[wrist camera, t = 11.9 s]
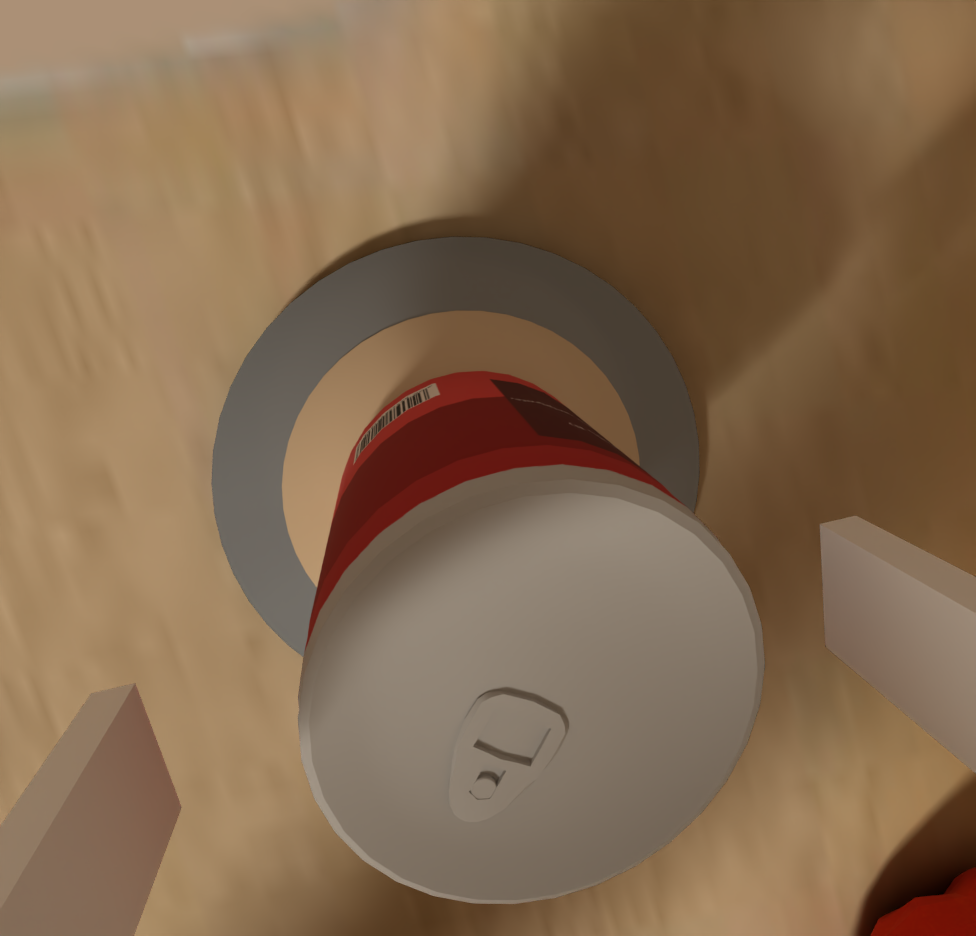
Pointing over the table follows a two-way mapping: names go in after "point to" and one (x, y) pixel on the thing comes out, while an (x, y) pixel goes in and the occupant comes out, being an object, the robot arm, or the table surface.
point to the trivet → (412, 361)
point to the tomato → (935, 912)
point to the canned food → (517, 650)
